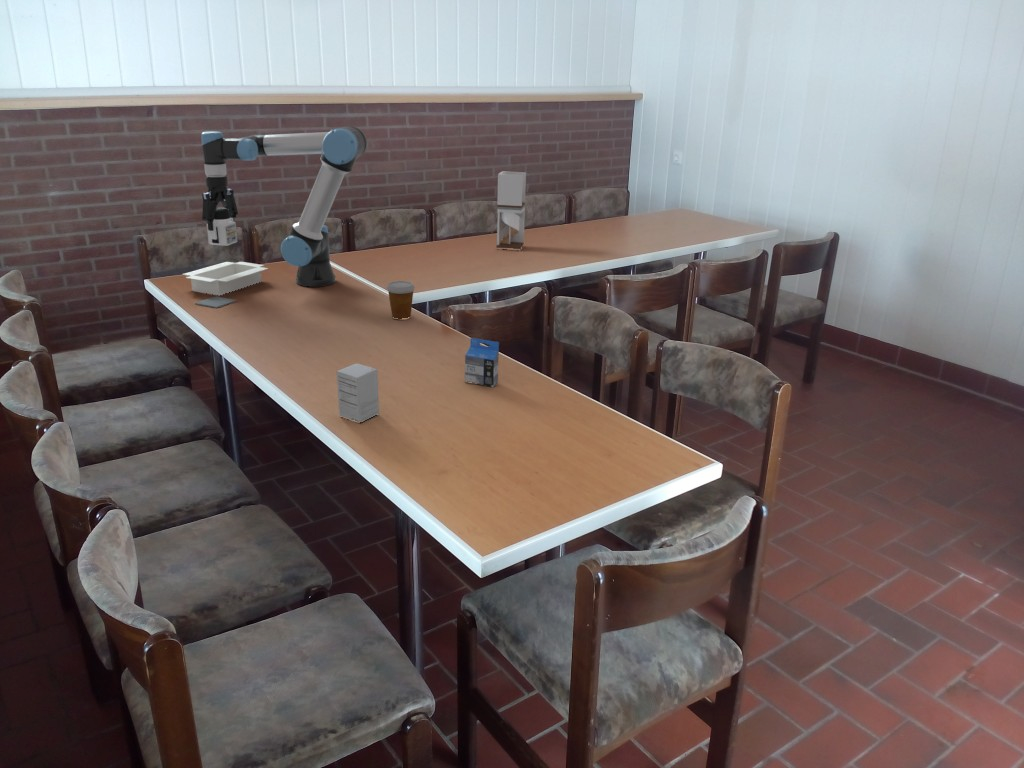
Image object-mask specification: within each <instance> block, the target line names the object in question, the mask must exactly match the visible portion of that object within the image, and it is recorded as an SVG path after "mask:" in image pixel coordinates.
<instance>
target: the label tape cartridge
mask: <svg viewBox="0 0 1024 768" xmlns="http://www.w3.org/2000/svg"><path fill="white" fill-rule="evenodd" d="M484 344H485V345H484ZM486 345H487V346H486ZM488 345H489V346H488ZM499 347H500V343H499V341H494V340H493V341H492V340H488V339H487V340H486V339H481V338H474V337H470V346H469V347H468V350H467V352H466V353H465V356H464V357H465V358H464V382H465V381H467V382H472V383H477V384H481V385H480V386H483V385H486V386H485V387H489V386H491V387H490V388H494V387H495V386H497V385H498V383H499V353H500V351H499V350H500V348H499ZM477 384H476V385H477Z"/></svg>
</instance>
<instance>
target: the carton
mask: <svg viewBox="0 0 1024 768" xmlns="http://www.w3.org/2000/svg"><path fill="white" fill-rule="evenodd" d="M267 270H269V267H268V268H267V267H265V265H264V264H258V263H252V262H245V261H238V262H233V261H231V262H230V261H225V262H224V261H223V262H221V263H217V264H214V265H210V266H207V267H203V268H200V269H196V270H193V271H189V272H185V273H182V276H186V277H185V279H187V280H189V279H190V283H191V284H190V285H191V291H192V292H195V293H201V294H206V293H207V295H212V294H213V295H214V296H217V295H218V296H217V297H221V296H223V294H224V295H226V294H225V293H227V294H229V292H230V293H233V292H236V291H238V289H239V290H241V288H242V289H245V288H247V286H248V287H251V286H254V285H257V284H259V282H260V283H262V282H263V281H262V272H263V271H267ZM256 283H257V284H256ZM253 284H254V285H253ZM250 285H251V286H250ZM244 287H245V288H244ZM235 290H236V291H235ZM232 291H233V292H232ZM213 295H212V296H213ZM220 295H221V296H220Z"/></svg>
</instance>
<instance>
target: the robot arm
mask: <svg viewBox="0 0 1024 768" xmlns="http://www.w3.org/2000/svg"><path fill="white" fill-rule="evenodd" d="M200 135H201V136H200V137H201V139H200V141H201V149H202V156H203V166H204V173H205V176H206V177H205V184H206V185H205V186H207V189H208V191H207V192H203V193H201V197H202V215H201V217H202V218H201V219H202V221H204V222H207V223H206V224H208V230H209V232H210V239H215V240H216V239H217V232H216V223H215V222H213V221H214V216H215V212H216V208H218V207H217V206H218V205H219V203H221V205H222V208H226V209H228V210H229V215H230V220H229V221H233V222H235V218H237V215H239V211H238V209H237V205H236V204H237V203H236V199H235V195H234V189H233V188H227V187H228V186H229V181H228V177H227V174H228V172H227V164H226V163H227V161H226V160H228V161H229V160H230V161H231V160H232V161H234V160H235V161H244V162H247V161H255V160H256V159H257V157H266V156H267V157H268V156H269V157H270V156H291V155H292V156H295V155H296V156H297V155H316V154H317V155H318V154H319V155H320V154H321V155H320V157H319V159H320V161H321V167H320V168H319V172H318V173H317V176H316V179H315V181H314V184H313V186H312V188H311V191H310V193H309V196H308V198H307V201H306V202H305V205H304V208H303V211H302V212H301V215H300V218H299V220H298V222H295V223H293V224H292V226H291V229H290V230H289V234H288V236H287V237H286V238H284V239H283V241H282V242H281V244H280V253H281V255H282V257H283V259H284V260H285V262H286V263H287V264H289V265H291V266H294V267H297V273H296V276H295V281H296V284H297V285H298V284H299V286H301V285H302V287H307V286H309V287H308V288H320V287H326V286H331V285H334V284H335V283H336V276H335V273H334V270H333V267H332V265H331V260H330V259H331V258H330V241H329V239H330V238H329V237H330V233H329V230H328V229H329V227H328V226H327V225H325V222H326V221H327V218H328V216H329V214H330V211H331V208H332V206H333V204H334V201H335V199H336V196H337V194H338V192H339V190H340V187H341V184H342V182H343V179H344V178H345V176H346V175H347V174H350V173H351V172H352V170H353V167H354V165H355V163H356V160H357V159H358V158H361V156H363V155H364V154H365V153H366V150H367V148H368V140H367V136H366V134H365V133H364V132H363V130H362V129H360V128H358V127H357V126H353V125H347V126H344V127H337V128H332V129H331V130H330V131H324V132H322V131H321V132H319V131H318V132H300V133H278V134H251V135H249V136H244V137H243V136H242V137H239V138H238V137H237V138H227V137H226V138H225V137H224V134H223V132H221V131H212V130H211V131H203V132H202V133H201V134H200Z"/></svg>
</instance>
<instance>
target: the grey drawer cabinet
mask: <svg viewBox="0 0 1024 768" xmlns="http://www.w3.org/2000/svg"><path fill="white" fill-rule="evenodd" d="M336 381H337V382H336V384H337V398H338V400H337V401H338V414H339V415H340V416H343V417H346V418H349V419H351V420H355V421H357V422H362V421H364V420H366V419H369V418H371V417H373V416H375V415H377V414H379V415H380V400H379V399H380V398H379V380H378V369H376V368H374V367H371V366H368V365H364V364H360V363H354V364H352V365H351V364H350V365H349V366H347V367H344V368H341V369H340V370H339V369H338V370H337V371H336ZM340 416H339V417H340ZM377 416H378V415H377ZM375 417H376V416H375ZM373 418H374V417H373ZM371 419H372V418H371ZM369 420H370V419H369Z"/></svg>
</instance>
